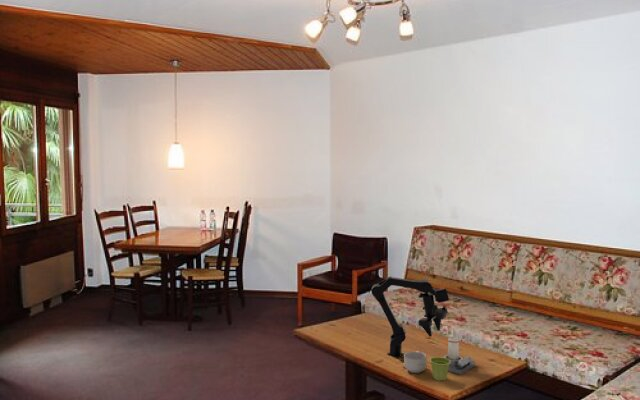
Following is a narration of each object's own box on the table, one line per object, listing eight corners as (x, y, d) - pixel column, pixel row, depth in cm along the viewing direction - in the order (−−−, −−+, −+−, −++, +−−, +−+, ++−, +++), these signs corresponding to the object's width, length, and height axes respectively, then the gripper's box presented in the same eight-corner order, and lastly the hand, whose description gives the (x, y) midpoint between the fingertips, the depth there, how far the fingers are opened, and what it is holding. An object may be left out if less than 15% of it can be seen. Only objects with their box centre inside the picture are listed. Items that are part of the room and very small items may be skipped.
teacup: (421, 376, 256) (421, 360, 256) (399, 371, 262) (400, 355, 262) (431, 367, 268) (432, 351, 268) (411, 363, 274) (411, 347, 273)
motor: (460, 374, 260) (460, 364, 259) (436, 367, 268) (436, 357, 268) (475, 365, 272) (475, 355, 271) (451, 359, 280) (451, 349, 280)
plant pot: (452, 377, 256) (453, 359, 255) (445, 384, 248) (446, 365, 248) (433, 373, 261) (434, 355, 260) (426, 379, 253) (427, 361, 253)
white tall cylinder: (452, 364, 267) (453, 340, 266) (445, 361, 272) (445, 337, 271) (460, 362, 270) (461, 339, 269) (453, 359, 274) (453, 336, 274)
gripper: (434, 310, 270) (440, 340, 271) (451, 298, 284) (456, 327, 285) (415, 309, 277) (420, 339, 278) (432, 299, 292) (437, 327, 292)
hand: (434, 333), depth 283 cm, fingers open, 9 cm apart
